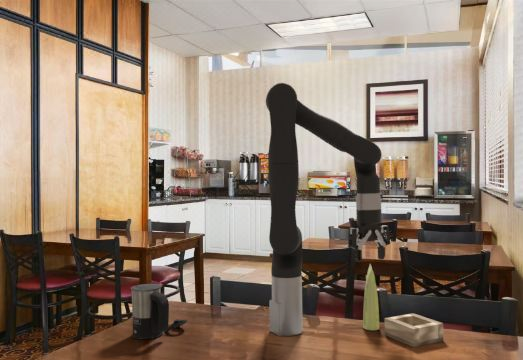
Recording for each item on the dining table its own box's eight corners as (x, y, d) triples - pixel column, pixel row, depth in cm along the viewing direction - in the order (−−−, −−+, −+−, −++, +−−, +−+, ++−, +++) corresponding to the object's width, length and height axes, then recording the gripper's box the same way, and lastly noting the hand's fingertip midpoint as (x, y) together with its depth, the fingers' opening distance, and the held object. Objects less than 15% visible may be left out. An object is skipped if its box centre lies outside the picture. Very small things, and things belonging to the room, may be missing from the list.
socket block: (413, 347, 136) (413, 329, 136) (384, 335, 147) (384, 318, 147) (443, 340, 141) (443, 323, 141) (413, 329, 152) (413, 313, 152)
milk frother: (124, 338, 149) (124, 288, 149) (155, 323, 163) (154, 278, 163) (165, 343, 143) (164, 292, 143) (193, 327, 158) (192, 281, 158)
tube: (384, 329, 153) (383, 265, 152) (372, 332, 150) (371, 267, 150) (370, 325, 157) (369, 263, 157) (359, 327, 154) (358, 265, 154)
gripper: (379, 206, 160) (380, 256, 160) (342, 208, 154) (343, 261, 154) (395, 207, 153) (396, 259, 153) (357, 209, 147) (358, 264, 147)
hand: (370, 260), depth 153 cm, fingers open, 8 cm apart
